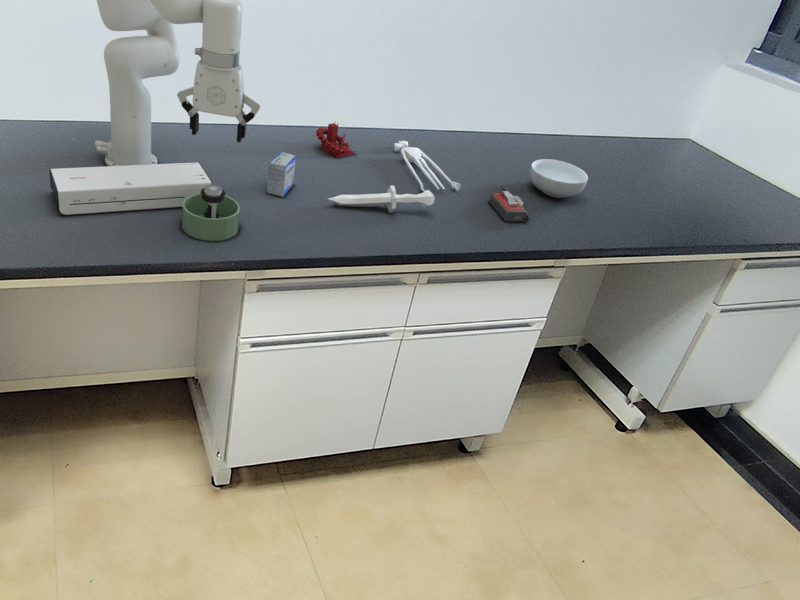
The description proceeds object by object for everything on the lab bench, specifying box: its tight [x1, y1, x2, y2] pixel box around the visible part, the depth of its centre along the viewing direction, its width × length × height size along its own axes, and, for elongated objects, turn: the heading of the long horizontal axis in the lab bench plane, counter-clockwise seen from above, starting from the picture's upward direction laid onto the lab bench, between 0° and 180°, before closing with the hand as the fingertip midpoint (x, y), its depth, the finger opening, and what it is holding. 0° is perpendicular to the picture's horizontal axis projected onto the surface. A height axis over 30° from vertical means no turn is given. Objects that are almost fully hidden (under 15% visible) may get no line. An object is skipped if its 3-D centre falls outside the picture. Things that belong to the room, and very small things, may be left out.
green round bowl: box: [181, 193, 241, 242], centre depth 175 cm, size 13×13×6 cm
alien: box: [393, 140, 462, 192], centre depth 224 cm, size 12×32×5 cm, turn 24°
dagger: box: [327, 185, 435, 213], centre depth 198 cm, size 8×6×28 cm
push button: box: [201, 184, 226, 218], centre depth 174 cm, size 7×5×10 cm
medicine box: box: [266, 151, 297, 198], centre depth 196 cm, size 8×4×9 cm, turn 168°
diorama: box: [315, 122, 356, 159], centre depth 223 cm, size 11×12×8 cm
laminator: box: [48, 162, 213, 216], centre depth 180 cm, size 34×12×6 cm, turn 118°
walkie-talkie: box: [489, 184, 530, 223], centre depth 214 cm, size 9×4×20 cm
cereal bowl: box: [529, 158, 589, 199], centre depth 227 cm, size 17×17×7 cm
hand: (217, 136), depth 167 cm, fingers open, 9 cm apart
